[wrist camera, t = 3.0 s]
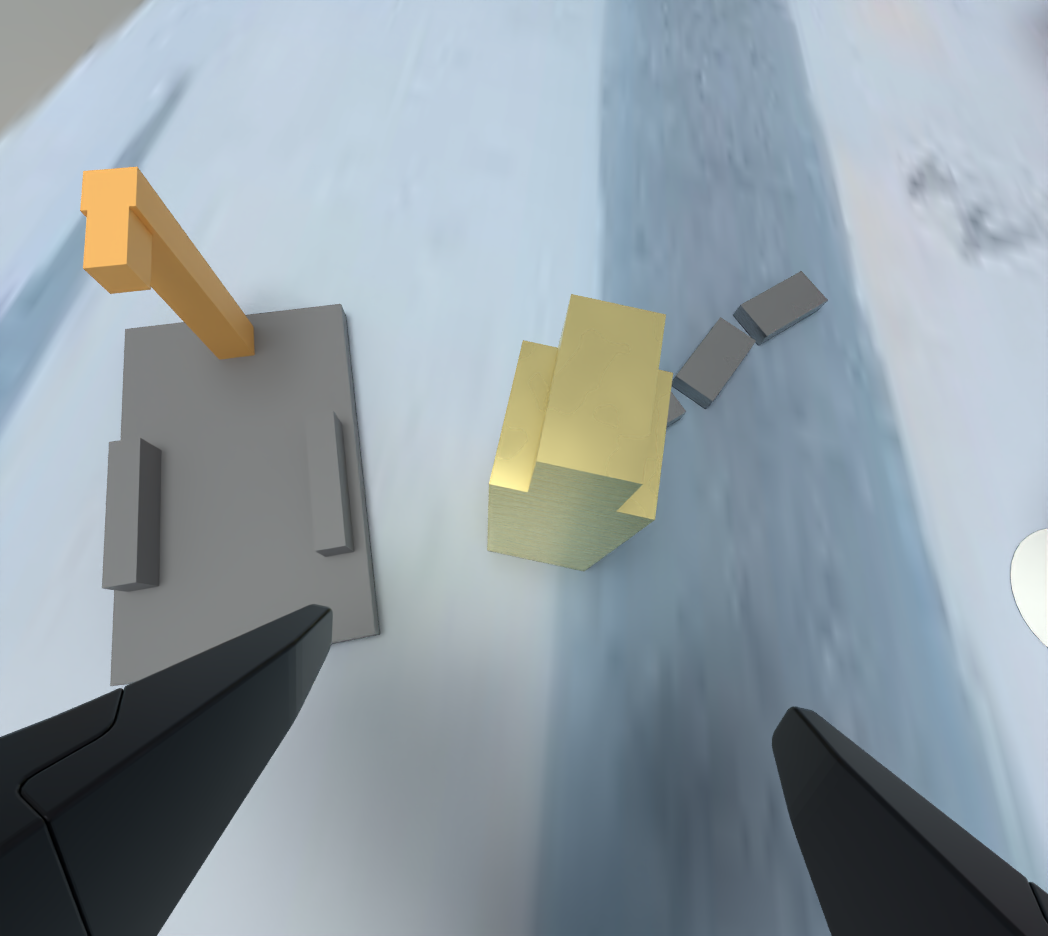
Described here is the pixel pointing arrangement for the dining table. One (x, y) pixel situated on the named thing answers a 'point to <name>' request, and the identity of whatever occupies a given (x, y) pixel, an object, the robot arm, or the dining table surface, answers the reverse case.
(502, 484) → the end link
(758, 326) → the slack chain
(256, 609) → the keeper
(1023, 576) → the champagne flute
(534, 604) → the dining table surface
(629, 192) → the dining table surface
